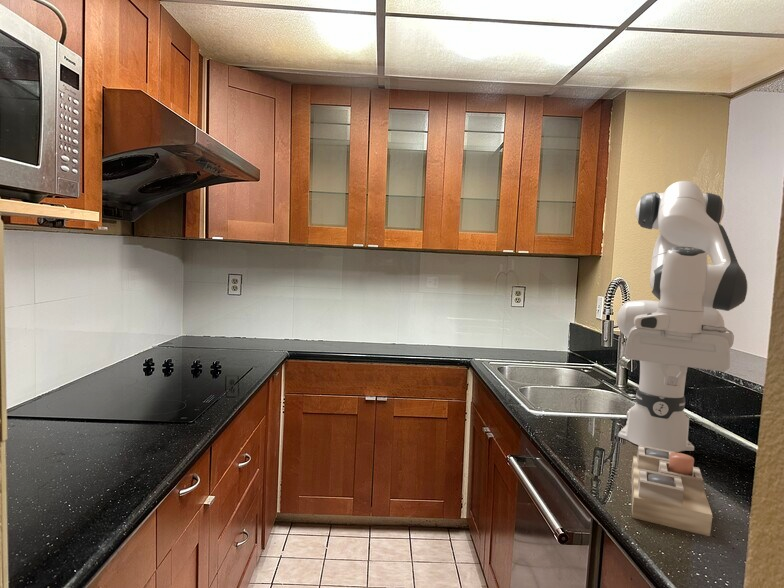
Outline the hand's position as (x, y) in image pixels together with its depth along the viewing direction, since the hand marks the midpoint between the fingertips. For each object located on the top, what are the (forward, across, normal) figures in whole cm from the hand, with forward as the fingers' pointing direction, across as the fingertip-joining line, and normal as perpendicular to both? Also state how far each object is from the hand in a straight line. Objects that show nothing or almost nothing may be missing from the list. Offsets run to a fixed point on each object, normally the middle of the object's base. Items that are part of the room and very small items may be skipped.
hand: (671, 385), depth 117 cm
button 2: (+18, +1, +16) cm, 24 cm away
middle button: (+16, -3, +8) cm, 18 cm away
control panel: (+23, -1, +8) cm, 24 cm away
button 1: (+19, +1, 0) cm, 19 cm away
